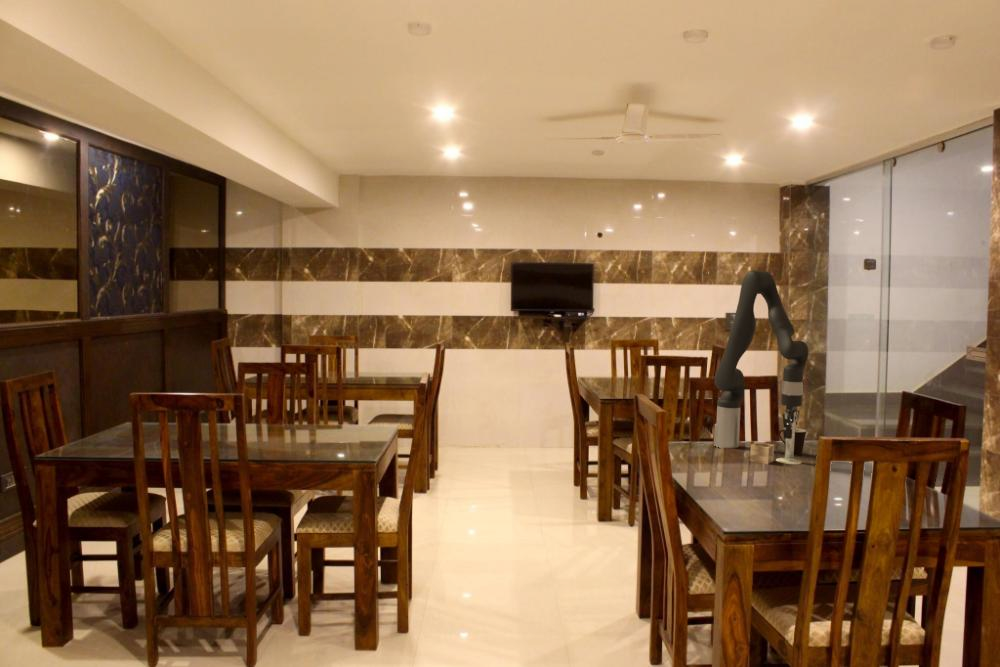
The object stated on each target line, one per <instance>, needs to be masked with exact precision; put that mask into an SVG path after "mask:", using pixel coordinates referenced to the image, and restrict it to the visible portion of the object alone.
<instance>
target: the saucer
mask: <svg viewBox="0 0 1000 667" xmlns="http://www.w3.org/2000/svg"><path fill="white" fill-rule="evenodd" d="M775 461H776V462H778V463H781V464H787V465H800V464H802V460H799V459H795V458H793V459H788V458H785V457H779V458H776V459H775Z"/></svg>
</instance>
